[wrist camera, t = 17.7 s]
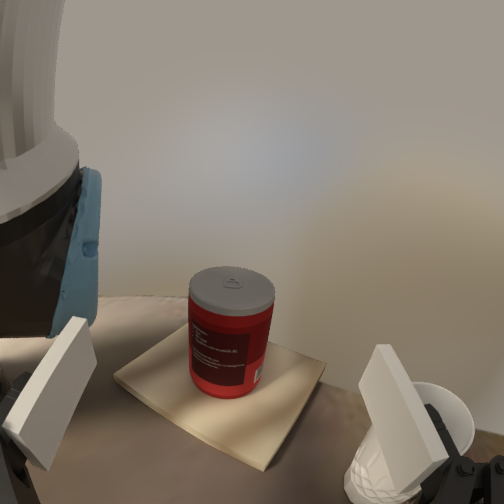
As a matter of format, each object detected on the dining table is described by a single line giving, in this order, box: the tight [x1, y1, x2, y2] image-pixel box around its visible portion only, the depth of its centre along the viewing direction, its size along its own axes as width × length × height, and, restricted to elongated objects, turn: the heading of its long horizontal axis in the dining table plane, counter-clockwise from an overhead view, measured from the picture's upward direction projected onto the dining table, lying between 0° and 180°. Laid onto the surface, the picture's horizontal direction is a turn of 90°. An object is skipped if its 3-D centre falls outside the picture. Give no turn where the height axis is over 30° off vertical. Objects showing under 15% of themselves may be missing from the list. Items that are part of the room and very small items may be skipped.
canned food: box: [188, 266, 275, 399], centre depth 29 cm, size 8×8×11 cm
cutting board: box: [113, 323, 326, 472], centre depth 31 cm, size 18×16×1 cm
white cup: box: [344, 382, 475, 504], centre depth 18 cm, size 8×8×10 cm
